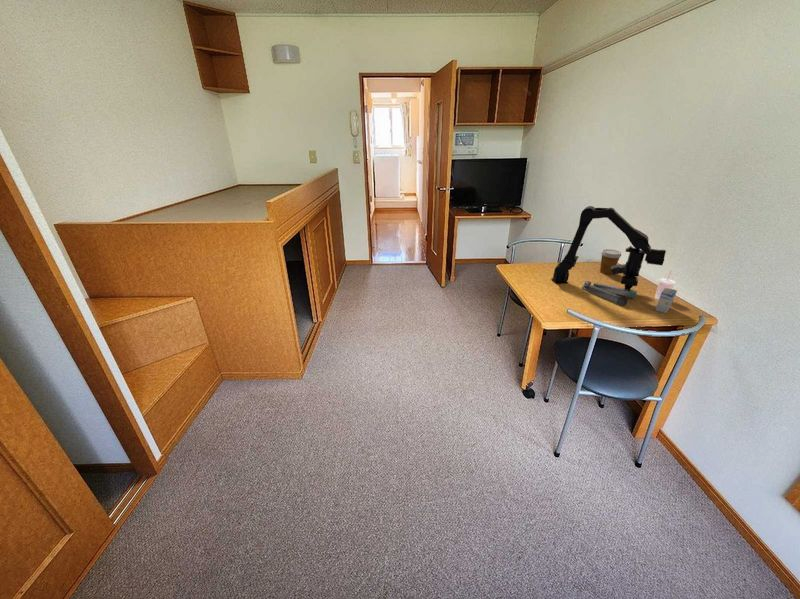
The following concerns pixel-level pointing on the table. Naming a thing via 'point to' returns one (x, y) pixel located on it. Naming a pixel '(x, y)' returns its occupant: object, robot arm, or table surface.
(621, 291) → the bar
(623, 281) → the robot arm
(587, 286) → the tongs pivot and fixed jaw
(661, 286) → the beverage cup
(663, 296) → the medicine box
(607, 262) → the disposable coffee cup
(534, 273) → the table surface
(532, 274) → the table surface
